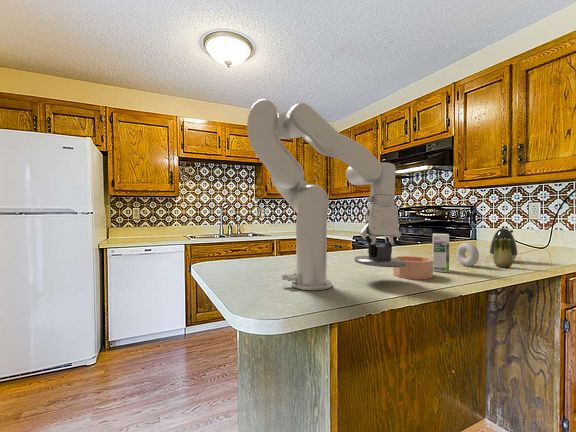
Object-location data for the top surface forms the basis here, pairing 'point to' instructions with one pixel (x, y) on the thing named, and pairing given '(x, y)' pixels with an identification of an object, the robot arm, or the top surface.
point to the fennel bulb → (502, 253)
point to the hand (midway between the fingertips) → (379, 256)
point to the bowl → (414, 268)
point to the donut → (472, 254)
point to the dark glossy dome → (501, 235)
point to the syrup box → (441, 252)
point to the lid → (381, 258)
